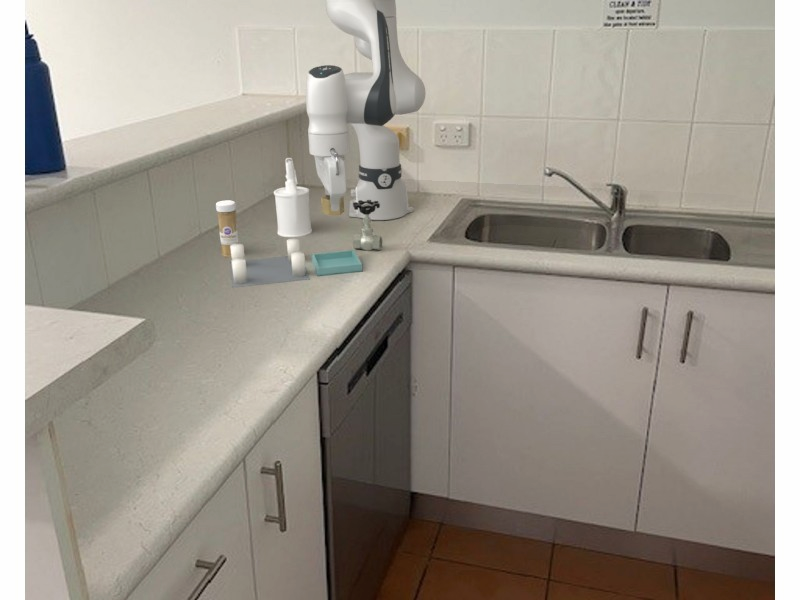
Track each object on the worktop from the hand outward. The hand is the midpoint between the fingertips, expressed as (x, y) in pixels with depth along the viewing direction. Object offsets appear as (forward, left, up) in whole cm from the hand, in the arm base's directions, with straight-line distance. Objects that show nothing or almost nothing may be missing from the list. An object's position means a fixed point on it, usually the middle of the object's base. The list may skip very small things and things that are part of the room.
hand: (332, 206), depth 162 cm
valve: (-10, +10, -15) cm, 20 cm away
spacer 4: (+3, -9, -14) cm, 17 cm away
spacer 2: (+3, -22, -14) cm, 26 cm away
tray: (0, 0, -15) cm, 15 cm away
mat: (-2, -15, -15) cm, 21 cm away
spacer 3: (-7, -9, -14) cm, 18 cm away
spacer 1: (-7, -22, -14) cm, 27 cm away
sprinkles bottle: (-16, -23, -15) cm, 32 cm away
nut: (0, 0, -1) cm, 1 cm away
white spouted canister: (-29, -6, -15) cm, 33 cm away
